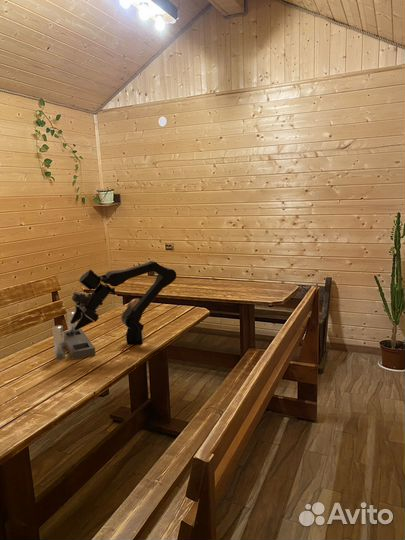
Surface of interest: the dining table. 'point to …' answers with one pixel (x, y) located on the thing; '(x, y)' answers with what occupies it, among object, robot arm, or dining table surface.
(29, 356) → the dining table surface
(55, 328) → the cylinder
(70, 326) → the billet
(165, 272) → the robot arm
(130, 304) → the tin
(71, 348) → the twin nest fixture
